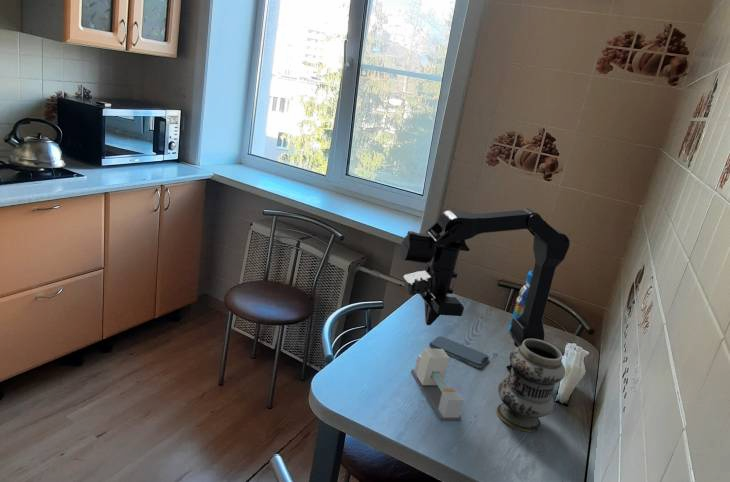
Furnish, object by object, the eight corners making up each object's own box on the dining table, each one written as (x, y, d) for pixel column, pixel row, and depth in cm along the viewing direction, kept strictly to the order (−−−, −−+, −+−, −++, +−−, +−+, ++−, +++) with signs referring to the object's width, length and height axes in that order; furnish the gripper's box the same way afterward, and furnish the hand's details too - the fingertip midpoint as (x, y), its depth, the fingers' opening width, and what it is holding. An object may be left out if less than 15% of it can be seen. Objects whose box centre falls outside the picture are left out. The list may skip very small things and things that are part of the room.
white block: (435, 375, 125) (442, 348, 123) (442, 385, 121) (449, 358, 119) (416, 375, 123) (423, 348, 121) (422, 385, 120) (429, 357, 118)
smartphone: (439, 334, 147) (490, 355, 140) (438, 340, 148) (488, 360, 141) (428, 343, 141) (480, 365, 134) (427, 348, 141) (479, 371, 134)
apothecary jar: (523, 441, 109) (549, 367, 103) (480, 407, 118) (502, 337, 112) (556, 427, 116) (582, 357, 111) (514, 396, 125) (535, 330, 120)
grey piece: (429, 372, 128) (434, 353, 126) (460, 420, 112) (466, 399, 110) (411, 372, 126) (415, 353, 125) (439, 420, 110) (445, 399, 109)
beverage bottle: (515, 325, 165) (533, 267, 159) (539, 337, 160) (559, 278, 154) (502, 331, 159) (520, 271, 153) (526, 344, 154) (546, 282, 148)
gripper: (398, 247, 127) (385, 305, 132) (426, 278, 110) (410, 343, 115) (439, 251, 131) (425, 307, 135) (472, 282, 114) (455, 345, 118)
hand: (428, 324), depth 126 cm, fingers closed
